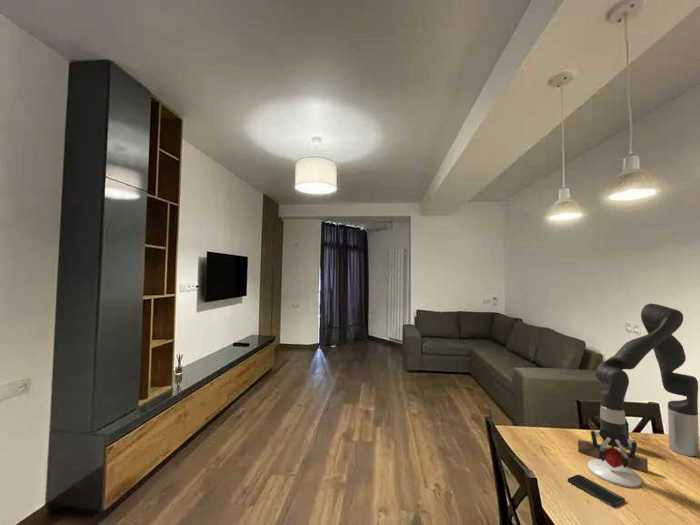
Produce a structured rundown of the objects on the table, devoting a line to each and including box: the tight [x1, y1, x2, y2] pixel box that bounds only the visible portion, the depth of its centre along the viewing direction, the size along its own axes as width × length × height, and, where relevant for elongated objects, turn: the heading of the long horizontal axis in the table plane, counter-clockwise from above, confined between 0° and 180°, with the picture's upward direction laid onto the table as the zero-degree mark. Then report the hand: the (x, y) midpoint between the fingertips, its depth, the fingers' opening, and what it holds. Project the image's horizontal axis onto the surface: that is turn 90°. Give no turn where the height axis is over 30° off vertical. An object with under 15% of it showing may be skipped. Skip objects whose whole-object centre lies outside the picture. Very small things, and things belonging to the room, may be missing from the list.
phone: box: [567, 474, 626, 508], centre depth 112 cm, size 8×1×15 cm
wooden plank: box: [577, 438, 649, 473], centre depth 131 cm, size 22×2×5 cm, turn 50°
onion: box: [604, 446, 623, 468], centre depth 123 cm, size 6×6×8 cm
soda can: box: [624, 417, 630, 449], centre depth 145 cm, size 7×7×12 cm
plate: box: [587, 458, 643, 488], centre depth 123 cm, size 16×16×1 cm
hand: (613, 463), depth 123 cm, fingers closed on onion, 6 cm apart
